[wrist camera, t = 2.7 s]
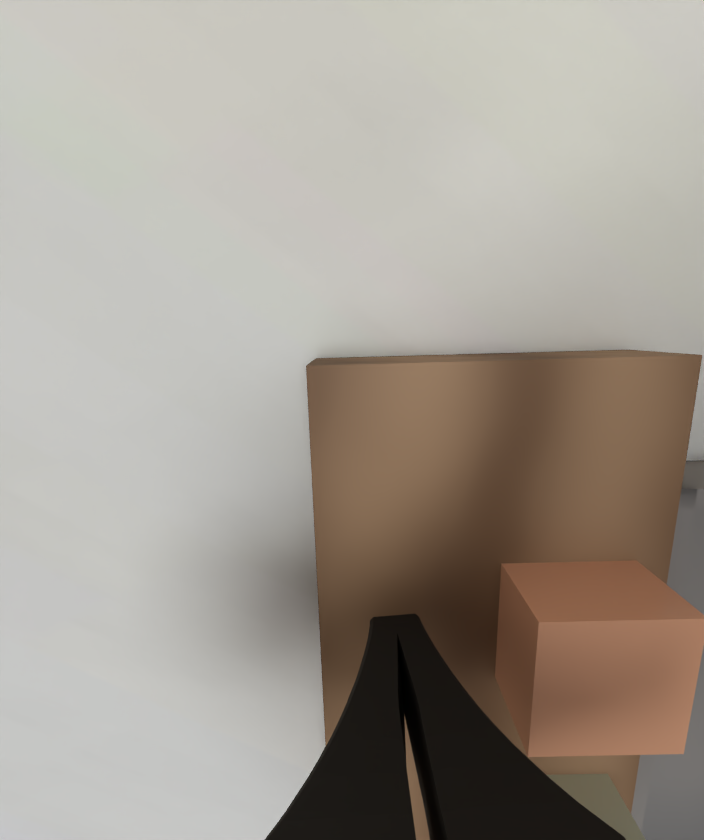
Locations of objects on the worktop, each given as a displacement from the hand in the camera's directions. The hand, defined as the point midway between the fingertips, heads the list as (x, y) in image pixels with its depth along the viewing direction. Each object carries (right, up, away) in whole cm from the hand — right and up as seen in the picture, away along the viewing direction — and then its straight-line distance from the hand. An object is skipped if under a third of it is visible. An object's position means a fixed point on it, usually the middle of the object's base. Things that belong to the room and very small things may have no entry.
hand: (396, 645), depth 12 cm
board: (+3, -3, +5) cm, 6 cm away
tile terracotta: (+5, 0, +1) cm, 5 cm away
